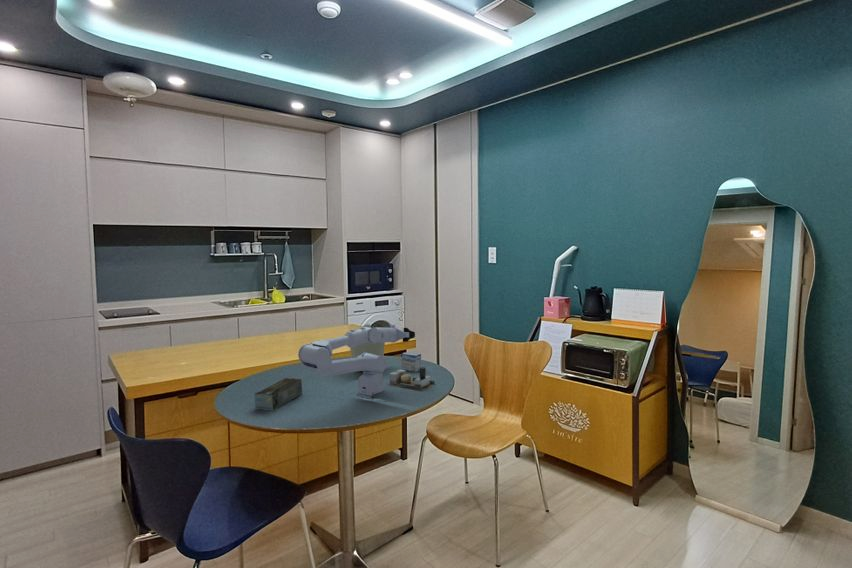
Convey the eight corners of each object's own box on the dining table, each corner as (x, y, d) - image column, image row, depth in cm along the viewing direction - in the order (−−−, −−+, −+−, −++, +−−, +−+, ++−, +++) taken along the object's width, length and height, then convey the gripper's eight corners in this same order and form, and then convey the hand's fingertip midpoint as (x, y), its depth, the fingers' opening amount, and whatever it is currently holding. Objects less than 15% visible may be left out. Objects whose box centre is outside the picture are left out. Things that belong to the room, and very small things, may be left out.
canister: (353, 363, 220) (352, 320, 218) (390, 364, 218) (389, 320, 216) (343, 374, 202) (342, 327, 200) (383, 374, 200) (382, 327, 198)
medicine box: (401, 372, 203) (401, 353, 202) (406, 370, 207) (406, 351, 206) (416, 375, 199) (416, 355, 198) (421, 372, 203) (421, 353, 202)
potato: (407, 385, 180) (407, 377, 179) (399, 383, 182) (398, 376, 182) (412, 382, 183) (412, 375, 183) (404, 380, 185) (404, 373, 185)
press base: (422, 394, 173) (422, 380, 172) (385, 387, 182) (385, 374, 181) (435, 387, 181) (435, 374, 181) (400, 381, 190) (399, 368, 190)
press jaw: (421, 388, 174) (420, 370, 174) (414, 387, 176) (414, 369, 175) (430, 383, 180) (430, 366, 180) (424, 382, 182) (424, 365, 181)
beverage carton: (253, 409, 159) (252, 391, 158) (285, 392, 177) (284, 376, 177) (273, 412, 156) (272, 393, 156) (303, 394, 175) (302, 377, 174)
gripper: (398, 324, 173) (420, 324, 184) (371, 324, 182) (394, 325, 193) (398, 342, 172) (420, 342, 183) (371, 342, 181) (394, 342, 192)
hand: (407, 334), depth 188 cm, fingers open, 7 cm apart
